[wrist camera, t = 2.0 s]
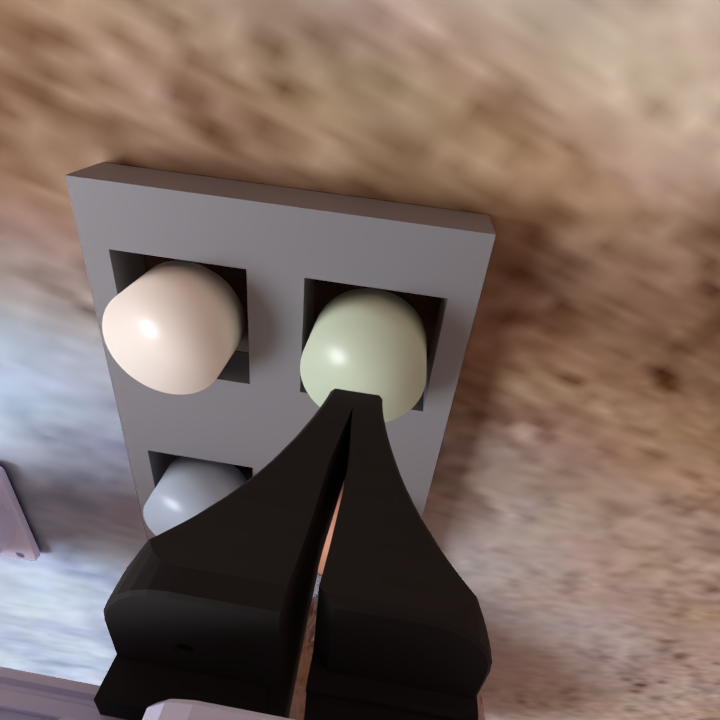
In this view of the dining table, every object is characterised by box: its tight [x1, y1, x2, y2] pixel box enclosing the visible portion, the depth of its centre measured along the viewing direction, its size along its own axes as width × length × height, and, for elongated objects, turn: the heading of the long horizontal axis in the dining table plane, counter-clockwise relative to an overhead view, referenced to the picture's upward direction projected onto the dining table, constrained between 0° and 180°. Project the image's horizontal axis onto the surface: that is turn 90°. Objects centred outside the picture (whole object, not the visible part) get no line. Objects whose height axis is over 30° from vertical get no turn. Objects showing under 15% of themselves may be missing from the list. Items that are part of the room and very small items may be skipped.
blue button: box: [143, 456, 248, 536], centre depth 21 cm, size 4×4×2 cm
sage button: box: [300, 288, 427, 422], centre depth 16 cm, size 4×4×2 cm
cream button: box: [102, 261, 245, 395], centre depth 16 cm, size 4×4×2 cm
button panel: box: [65, 162, 496, 576], centre depth 20 cm, size 13×18×2 cm
